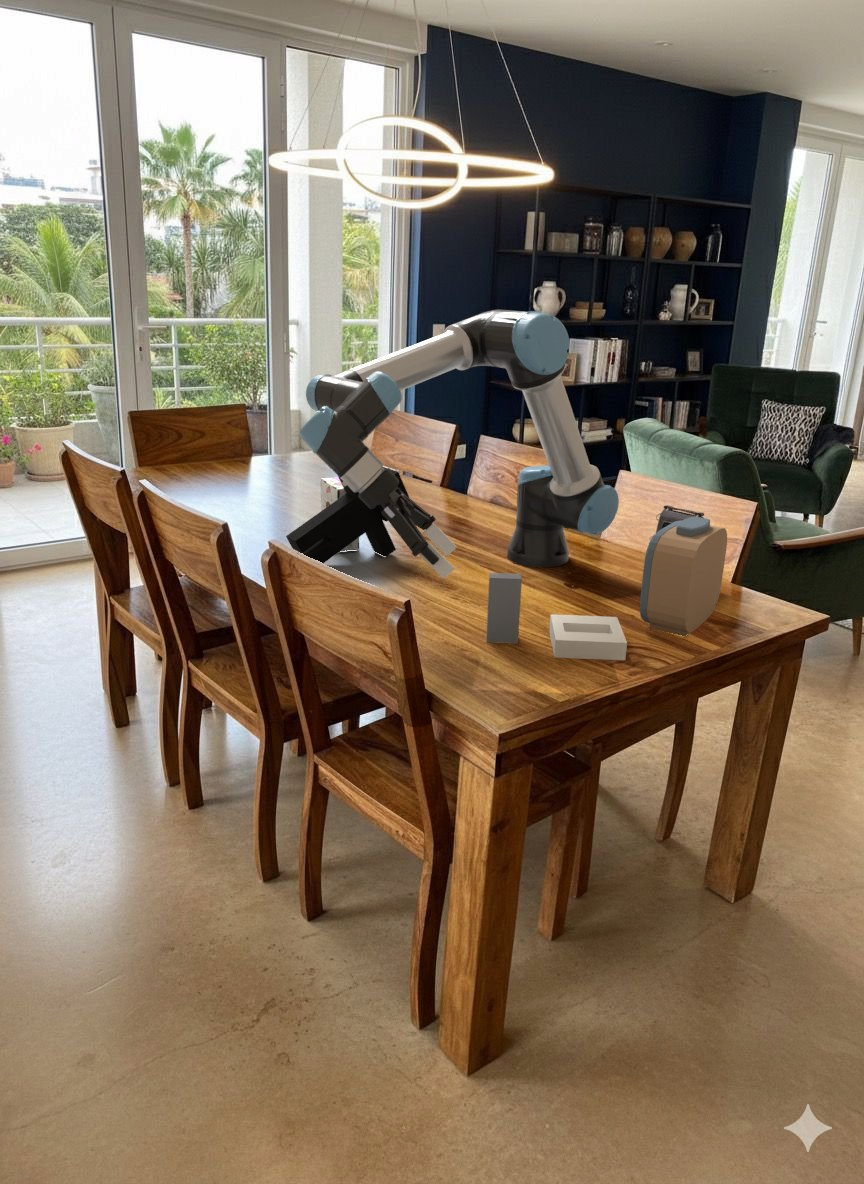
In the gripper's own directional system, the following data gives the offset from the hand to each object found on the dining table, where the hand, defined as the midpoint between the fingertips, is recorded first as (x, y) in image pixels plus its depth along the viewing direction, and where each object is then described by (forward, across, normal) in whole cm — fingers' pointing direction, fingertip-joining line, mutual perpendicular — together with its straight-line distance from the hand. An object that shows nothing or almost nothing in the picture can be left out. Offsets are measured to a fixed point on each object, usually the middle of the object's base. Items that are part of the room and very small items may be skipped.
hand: (450, 562), depth 168 cm
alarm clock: (+44, -12, +22) cm, 50 cm away
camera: (+46, -33, +25) cm, 62 cm away
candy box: (-10, -58, -32) cm, 67 cm away
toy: (-7, -45, -29) cm, 54 cm away
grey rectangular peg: (+18, 0, -4) cm, 19 cm away
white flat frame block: (+29, +1, +8) cm, 31 cm away
